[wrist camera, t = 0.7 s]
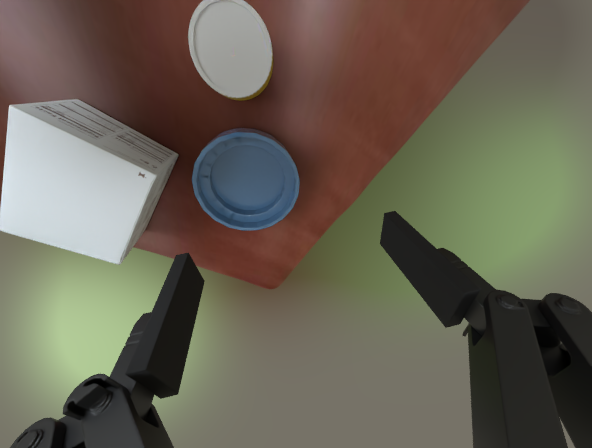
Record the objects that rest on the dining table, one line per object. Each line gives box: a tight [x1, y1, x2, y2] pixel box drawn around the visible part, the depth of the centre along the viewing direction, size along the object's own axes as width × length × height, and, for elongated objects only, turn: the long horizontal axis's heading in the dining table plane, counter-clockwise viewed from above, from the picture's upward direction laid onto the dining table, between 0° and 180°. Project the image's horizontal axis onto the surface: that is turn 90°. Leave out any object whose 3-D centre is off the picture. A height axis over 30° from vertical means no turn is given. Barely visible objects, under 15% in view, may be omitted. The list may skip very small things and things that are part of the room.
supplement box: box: [0, 99, 179, 264], centre depth 29 cm, size 17×13×9 cm
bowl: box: [192, 128, 300, 231], centre depth 35 cm, size 16×16×4 cm
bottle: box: [188, 0, 273, 101], centre depth 22 cm, size 7×7×15 cm
